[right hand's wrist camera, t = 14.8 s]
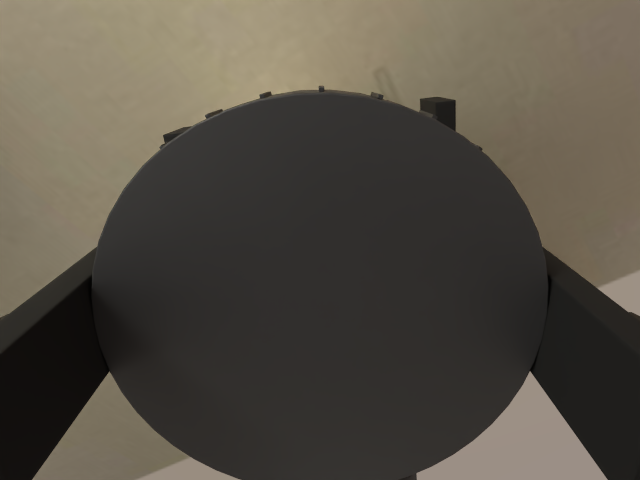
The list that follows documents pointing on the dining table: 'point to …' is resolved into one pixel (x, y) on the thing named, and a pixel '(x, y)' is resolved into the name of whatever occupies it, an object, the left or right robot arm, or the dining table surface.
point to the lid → (319, 289)
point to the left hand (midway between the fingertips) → (307, 114)
